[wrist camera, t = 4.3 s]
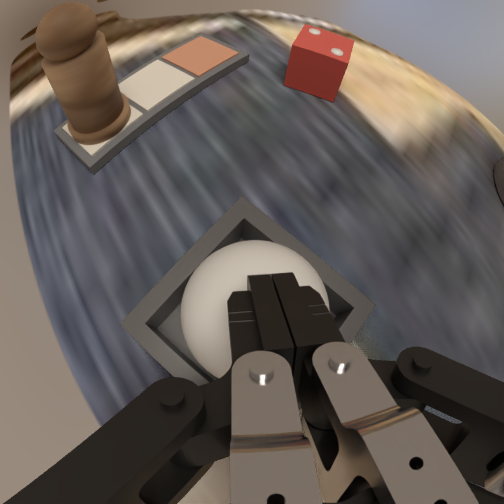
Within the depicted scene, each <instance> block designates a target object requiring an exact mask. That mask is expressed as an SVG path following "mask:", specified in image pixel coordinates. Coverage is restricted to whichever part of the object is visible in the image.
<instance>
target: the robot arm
mask: <svg viewBox="0 0 504 504" xmlns="http://www.w3.org/2000/svg"><path fill="white" fill-rule="evenodd" d="M494 178H495V184H496V187H497V190H498V193H499V195H500V198H501V200H502V202H503V204H504V157H503V158H502V159H501V160H500V161H499V162H498V163H497V164H496V165H495V168H494ZM227 309H228V324H229V338H230V348H231V358H232V364H231V367H230V369H229V370H228V371H227V372H226V373H225V374H224V375H223V376H222V377H221V378H219V379H217V380H215V381H212V382H210V383H207V384H204V385H200V386H198V385H197V384H195V383H194V382H192V381H190V380H188V379H185V378H180V377H169V378H164V379H161V380H158V381H156V382H155V383H153V384H152V385H150V386H149V387H148V388H147V389H146V390H145V391H143V392H142V393H141V394H140V395H139V396H137V397H136V398H135V399H134V400H133V401H132V402H130V403H129V404H128V405H127V406H126V407H124V408H123V409H122V410H121V411H120V412H119V413H117V414H116V415H115V416H114V417H113V418H111V419H110V420H109V421H108V422H106V423H105V424H104V425H103V426H102V427H100V428H99V429H98V430H97V431H96V432H94V433H93V434H92V435H91V436H89V437H88V438H87V439H86V440H85V441H83V442H82V443H81V444H80V445H78V446H77V447H76V448H75V449H73V450H72V451H71V452H70V453H68V454H67V455H66V456H65V457H63V458H62V459H61V460H60V461H58V462H57V463H56V464H55V465H53V466H52V467H51V468H49V469H48V470H47V471H46V472H44V473H43V474H42V475H40V476H39V477H38V478H37V479H35V480H34V481H33V482H32V483H30V484H29V485H27V486H26V487H25V488H23V489H22V490H21V491H19V492H18V493H17V494H15V495H14V496H13V497H11V498H10V499H9V500H8V501H6V502H5V503H3V504H177V503H178V502H179V501H180V500H181V499H182V498H183V497H184V496H185V495H186V494H187V493H188V492H189V491H190V490H191V488H192V487H193V486H194V485H195V484H196V483H197V482H198V481H199V480H200V479H201V477H202V476H203V475H204V474H205V473H206V472H207V471H208V470H209V468H210V467H211V466H212V465H213V463H214V461H217V460H220V459H223V458H226V457H228V456H230V504H504V382H501V381H499V380H497V379H495V378H492V377H490V376H488V375H485V374H483V373H481V372H479V371H476V370H474V369H472V368H470V367H467V366H465V365H463V364H460V363H458V362H456V361H454V360H452V359H449V358H447V357H445V356H443V355H440V354H438V353H436V352H434V351H431V350H429V349H426V348H423V347H410V348H407V349H405V350H403V351H402V352H401V353H400V354H399V356H398V359H397V361H382V360H371V359H367V358H366V356H365V355H364V353H363V352H362V351H361V350H360V349H359V348H357V347H356V346H353V345H351V344H348V343H346V342H345V340H344V338H343V336H342V334H341V332H340V330H339V328H338V327H337V325H336V323H335V321H334V319H333V317H332V315H331V314H330V311H329V310H328V308H327V306H326V305H325V302H324V300H323V298H322V296H321V295H320V293H319V292H317V291H316V290H315V289H313V288H312V287H311V286H299V284H298V282H297V279H296V277H295V275H294V273H293V272H287V273H273V274H260V275H247V291H233V292H232V294H231V295H230V297H229V299H228V300H227ZM297 402H300V404H301V407H302V410H303V412H302V417H301V421H300V415H299V410H298V404H297ZM426 405H428V406H430V407H432V408H434V409H436V410H438V411H441V412H443V413H445V414H447V415H449V416H451V417H454V418H456V419H458V420H460V421H462V423H460V424H454V423H451V422H449V421H447V420H445V419H442V418H440V417H438V416H436V415H434V414H432V413H430V412H428V411H426V410H424V409H425V407H426ZM301 424H302V426H301ZM302 427H303V430H304V432H305V435H306V437H304V435H303V431H302ZM314 459H315V461H316V464H317V467H318V469H319V472H320V475H321V479H322V493H323V497H324V500H325V503H322V499H321V493H320V488H319V483H318V477H317V472H316V466H315V461H314ZM466 480H467V481H466ZM468 481H470V482H472V483H474V484H472V483H470V482H468ZM475 484H477V485H479V486H482V487H484V489H483V488H481V487H479V486H477V485H475Z"/></svg>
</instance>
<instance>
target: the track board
mask: <svg viewBox="0 0 504 504" xmlns="http://www.w3.org/2000/svg"><path fill="white" fill-rule="evenodd" d="M200 36H202V37H205V38H207V39H210V40H212V41H214V42H217V43H219V44H221V45H223V46H226V47H228V48H230V49H232V50H234V51H237V52H239V54H238V55H236V56H234V57H233V58H231V59H229V60H227V61H225V62H224V63H222V64H220V65H218V66H217V67H215V68H213V69H212V70H210V71H208V72H207V73H205V74H203V75H202V76H200V77H197V76H195V75H194V74H192V73H190V72H188V71H186V70H184V69H182V68H180V67H178V66H176V65H174V64H172V63H170V62H168V61H166V60H164V59H162V57H163V56H164V55H166V54H168V53H170V52H171V51H173V50H175V49H177V48H179V47H180V46H182V45H184V44H186V43H188V42H190V41H192V40H194V39H196V38H198V37H200ZM248 61H249V54H248V53H246V52H244V51H242V50H239V49H237V48H235V47H233V46H231V45H228V44H226V43H224V42H222V41H219V40H217V39H215V38H212V37H210V36H207V35H205V34H202V33H200V34H198V35H196V36H194V37H192V38H190V39H188V40H186V41H184V42H183V43H181V44H179V45H177V46H175V47H173V48H171V49H170V50H168V51H166V52H164V53H162V54H161V55H159V56H157V57H155V58H154V59H152V60H150V61H149V62H147V63H145V64H144V65H142V66H141V67H139V68H137V69H136V70H134V71H133V72H131V73H129V74H128V75H126V76H125V77H123V78H122V79H120V80H119V81H117V82H118V86H119V89H120V92H121V93H123V94H124V95H125V96H126V97H127V99H128V102H129V105H130V109H131V115H130V119H129V121H128V123H127V124H126V126H125V127H124V128H123V129H122V130H121V131H120V132H119V133H118V134H117V135H115V136H114V137H112V138H111V139H109V140H107V141H105V142H102V143H99V144H95V145H82V144H79V143H77V142H76V141H75V140H74V139H73V137H72V135H71V133H70V132H69V130H68V126H67V123H68V119H67V120H66V121H65V122H63V123H62V124H61V125H60V126H59V127H58V128H56V129H55V130H54V133H55V134H56V136H57V137H58V139H59V140H60V141H61V142H62V143H63V144H64V145H65V146H66V147H67V148H68V149H69V150H70V151H71V152H72V153H73V154H74V155H75V156H76V157H77V158H78V159H79V160H80V161H81V162H82V163H83V164H84V165H85V166H86V167H87V168H88V169H89V170H90V171H91V172H92V173H93V174H95V173H96V172H97V171H99V170H100V169H101V168H102V167H103V166H104V165H105V164H106V163H107V162H109V161H110V160H111V159H112V158H113V157H114V156H116V155H117V154H118V153H119V152H120V151H121V150H123V149H124V148H125V147H126V146H127V145H129V144H130V143H131V142H132V141H133V140H135V139H136V138H137V137H138V136H140V135H141V134H142V133H143V132H145V131H146V130H147V129H148V128H150V127H151V126H152V125H154V124H155V123H156V122H158V121H159V120H160V119H162V118H163V117H164V116H166V115H167V114H168V113H170V112H171V111H172V110H174V109H175V108H177V107H178V106H179V105H181V104H182V103H184V102H185V101H187V100H188V99H189V98H191V97H192V96H194V95H195V94H197V93H198V92H200V91H201V90H203V89H204V88H206V87H207V86H209V85H211V84H212V83H214V82H215V81H217V80H218V79H220V78H222V77H223V76H225V75H226V74H228V73H230V72H231V71H233V70H235V69H236V68H238V67H240V66H242V65H243V64H245V63H247V62H248Z"/></svg>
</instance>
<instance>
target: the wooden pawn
mask: <svg viewBox="0 0 504 504" xmlns="http://www.w3.org/2000/svg"><path fill="white" fill-rule="evenodd" d="M35 41H36V46H37V49H38V50H39V52H40V53H41V55H43V56H44V58H43V60H42V67H43V69H44V71H45V74H46V76H47V78H48V80H49V82H50V84H51V86H52V88H53V90H54V92H55V94H56V96H57V98H58V100H59V102H60V104H61V106H62V108H63V110H64V112H65V114H66V116H67V118H68V123H67V126H68V130H69V132H70V133H71V135H72V137H73V139H74V140H75V141H76V142H77V143H79V144H82V145H95V144H99V143H102V142H105V141H107V140H109V139H111V138H112V137H114V136H115V135H117V134H118V133H119V132H120V131H121V130H122V129H123V128H124V127H125V126H126V124H127V123H128V121H129V119H130V115H131V109H130V105H129V102H128V99H127V97H126V96H125V95H124V94H123V93H121V92H120V89H119V86H118V82H117V79H116V76H115V72H114V69H113V66H112V62H111V59H110V55H109V51H108V48H107V44H106V41H105V37H104V34H103V33H102V32H100V31H97V18H96V15H95V13H94V12H93V10H92V9H91V8H90V7H88V6H87V5H85V4H83V3H79V2H67V3H63V4H60V5H58V6H56V7H54V8H53V9H52V10H50V11H49V12H48V13H47V14H46V15H45V16H44V17H43V18H42V20H41V22H40V23H39V25H38V27H37V31H36V36H35Z"/></svg>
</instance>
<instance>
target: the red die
mask: <svg viewBox="0 0 504 504" xmlns="http://www.w3.org/2000/svg"><path fill="white" fill-rule="evenodd" d="M353 44H354V40H351V39H348V38H346V37H343V36H340V35H337V34H334V33H331V32H328V31H325V30H322V29H319V28H316V27H313V26H309V25H306V24H305V25H304V27H303V28H302V30H301V32H300V33H299V35H298V36H297V38H296V40H295V41H294V43H293V44H292V48H291V53H290V58H289V62H288V67H287V72H286V76H285V81H284V86H287V87H291V88H294V89H297V90H300V91H303V92H306V93H309V94H312V95H314V96H317V97H320V98H323V99H326V100H328V101H331V102H334V99H335V97H336V94H337V92H338V89H339V86H340V84H341V81H342V79H343V76H344V74H345V71H346V68H347V66H348V63H349V59H350V56H351V52H352V48H353Z"/></svg>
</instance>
